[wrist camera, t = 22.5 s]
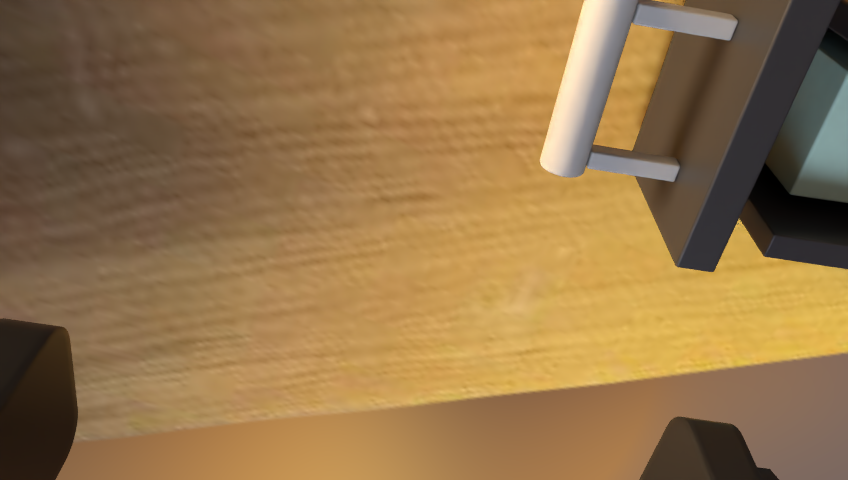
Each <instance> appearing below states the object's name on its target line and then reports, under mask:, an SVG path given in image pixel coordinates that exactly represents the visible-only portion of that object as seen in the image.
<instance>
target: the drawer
mask: <svg viewBox="0 0 848 480" xmlns="http://www.w3.org/2000/svg"><path fill="white" fill-rule="evenodd" d="M631 22H633V23H634V24H635V25H641V26H647V27H652V28H658V29H664V30H670V31H675V32H674V35H673V38H672V41H671V44H670V46H669V49H668V52H667V55H666V58H665V61H664V63H663V66H662V69H661V72H660V75H659V78H658V80H657V83H656V86H655V89H654V92H653V94H652V97H651V100H650V103H649V106H648V109H647V111H646V114H645V117H644V120H643V123H642V126H641V128H640V131H639V134H638V137H637V140H636V143H635V145H634V148H633V151H630V150H623V149H617V148H611V147H605V146H598V145H593V142H594V139H595V136H596V132H597V129H598V126H599V123H600V120H601V117H602V114H603V110H604V107H605V104H606V101H607V98H608V95H609V92H610V88H611V85H612V82H613V79H614V76H615V73H616V70H617V66H618V63H619V60H620V57H621V54H622V51H623V48H624V44H625V41H626V38H627V35H628V32H629V29H630V26H631ZM826 32H831V33H837V34H838V35H840V36H841V37H843V38H844V39H846V40H847V41H848V0H686V1H685V4H684V6H681V5H675V4H669V3H664V2H658V1H652V0H584V3H583V7H582V10H581V14H580V18H579V21H578V25H577V28H576V32H575V36H574V39H573V43H572V46H571V50H570V54H569V57H568V61H567V64H566V68H565V72H564V75H563V79H562V82H561V86H560V90H559V93H558V97H557V100H556V104H555V108H554V111H553V115H552V118H551V122H550V126H549V129H548V133H547V136H546V140H545V144H544V147H543V151H542V154H541V158H540V164H541V166H542V167H543V168H544V169H546V170H547V171H549V172H551V173H553V174H555V175H559V176H563V177H578V176H581V175H582V174H583V173H584V170H585V167H586V165H587V168H589V169H595V170H602V171H608V172H614V173H621V174H627V175H633V176H635V177H636V179H637V182H638V184H639V186H640V188H641V190H642V193H643V195H644V197H645V199H646V201H647V204H648V206H649V208H650V210H651V212H652V215H653V217H654V219H655V221H656V223H657V226H658V228H659V230H660V232H661V234H662V237H663V239H664V241H665V243H666V245H667V248H668V250H669V252H670V254H671V256H672V259H673V261H674V263H675V265H676V266H677V267H681V268H688V269H694V270H701V271H708V272H713V271H714V270H715V268H716V266H717V264H718V262H719V259H720V257H721V255H722V253H723V251H724V249H725V247H726V245H727V242H728V240H729V238H730V236H731V234H732V232H733V230H734V227H735V225H736V223H737V221H738V219H739V218H740V220H741V221H742V223H743V225H744V226H745V228H746V229H747V231H748V232H749V234H750V235H751V237H752V239H753V240H754V242H755V243H756V245H757V246H758V248H759V250H760V251H761V253H762V254H763V256H765V257H771V258H778V259H784V260H791V261H797V262H804V263H811V264H817V265H824V266H830V267H837V268H843V269H848V203H844V202H837V201H830V200H823V199H816V198H809V197H802V196H795V195H791V194H789V193H788V191H787V190H786V189H785V188H784V186H783V185H782V184H781V183H780V181H779V180H778V179H777V178H776V176H775V175H774V174H773V172H772V171H771V170H770V169H769V167H768V166H767V165H766V164H765V161H766V159H767V157H768V155H769V153H770V151H771V148H772V146H773V144H774V142H775V140H776V138H777V136H778V133H779V131H780V129H781V127H782V125H783V123H784V121H785V118H786V116H787V114H788V112H789V110H790V108H791V106H792V104H793V101H794V99H795V97H796V95H797V93H798V91H799V89H800V86H801V84H802V82H803V80H804V78H805V76H806V74H807V71H808V69H809V67H810V65H811V63H812V61H813V59H814V57H815V54H816V52H817V50H818V48H819V46H820V44H821V42H822V39H823V37H824V35H825V33H826Z"/></svg>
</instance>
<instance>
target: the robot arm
mask: <svg viewBox="0 0 848 480" xmlns="http://www.w3.org/2000/svg"><path fill="white" fill-rule="evenodd" d="M77 419H78V407H77V398H76V389H75V380H74V371H73V362H72V353H71V344H70V337H69V334H68V331H67V330H66V329H65V328H64V327H60V326H53V325H46V324H39V323H32V322H25V321H18V320H11V319H4V318H3V319H0V480H55V479H56V478H57V476H58V474H59V472H60V470H61V468H62V466H63V464H64V462H65V460H66V458H67V456H68V454H69V452H70V449H71V446H72V443H73V440H74V436H75V432H76V426H77ZM640 480H779V479H778V478H777V477H776V476H775V475H774V473H773V472H772V471H771V470H770V469H765V468H758V467H757V466H756V465H755V462H754V460H753V458H752V456H751V453H750V451H749V449H748V447H747V445H746V442H745V440H744V438H743V436H742V434H741V432H740V431H739V430H738V428H737V427H735V426H734V425H732V424H728V423H721V422H713V421H707V420H699V419H692V418H685V417H676V418H674V419H672V420H671V421H670V422H669V424H668V426H667V427H666V429H665V431H664V433H663V435H662V437H661V439H660V441H659V443H658V445H657V447H656V448H655V450H654V452H653V455H652V456H651V458H650V460H649V462H648V464H647V466H646V468H645V470H644V472H643V474H642V475H641V477H640Z"/></svg>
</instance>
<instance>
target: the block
mask: <svg viewBox="0 0 848 480" xmlns="http://www.w3.org/2000/svg"><path fill="white" fill-rule="evenodd" d="M765 164H766V165H767V166H768V167H769V169H770V170H771V171H772V172H773V174H774V175H775V176H776V178H777V179H778V180H779V181H780V183H781V184H782V185H783V186H784V188H785V189H786V190H787V191H788V193H789V194H791V195H795V196H802V197H809V198H816V199H823V200H830V201H837V202H844V203H848V41H847V40H846V39H844V38H843V37H841V36H840V35H838V34H837V33H831V32H826V33H825V35H824V37H823V39H822V42H821V44H820V46H819V48H818V50H817V52H816V54H815V57H814V59H813V61H812V63H811V65H810V67H809V69H808V71H807V74H806V76H805V78H804V80H803V82H802V84H801V86H800V89H799V91H798V93H797V95H796V97H795V99H794V101H793V104H792V106H791V108H790V110H789V112H788V114H787V116H786V118H785V121H784V123H783V125H782V127H781V129H780V131H779V133H778V136H777V138H776V140H775V142H774V144H773V146H772V148H771V151H770V153H769V155H768V157H767V159H766V161H765Z"/></svg>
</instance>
